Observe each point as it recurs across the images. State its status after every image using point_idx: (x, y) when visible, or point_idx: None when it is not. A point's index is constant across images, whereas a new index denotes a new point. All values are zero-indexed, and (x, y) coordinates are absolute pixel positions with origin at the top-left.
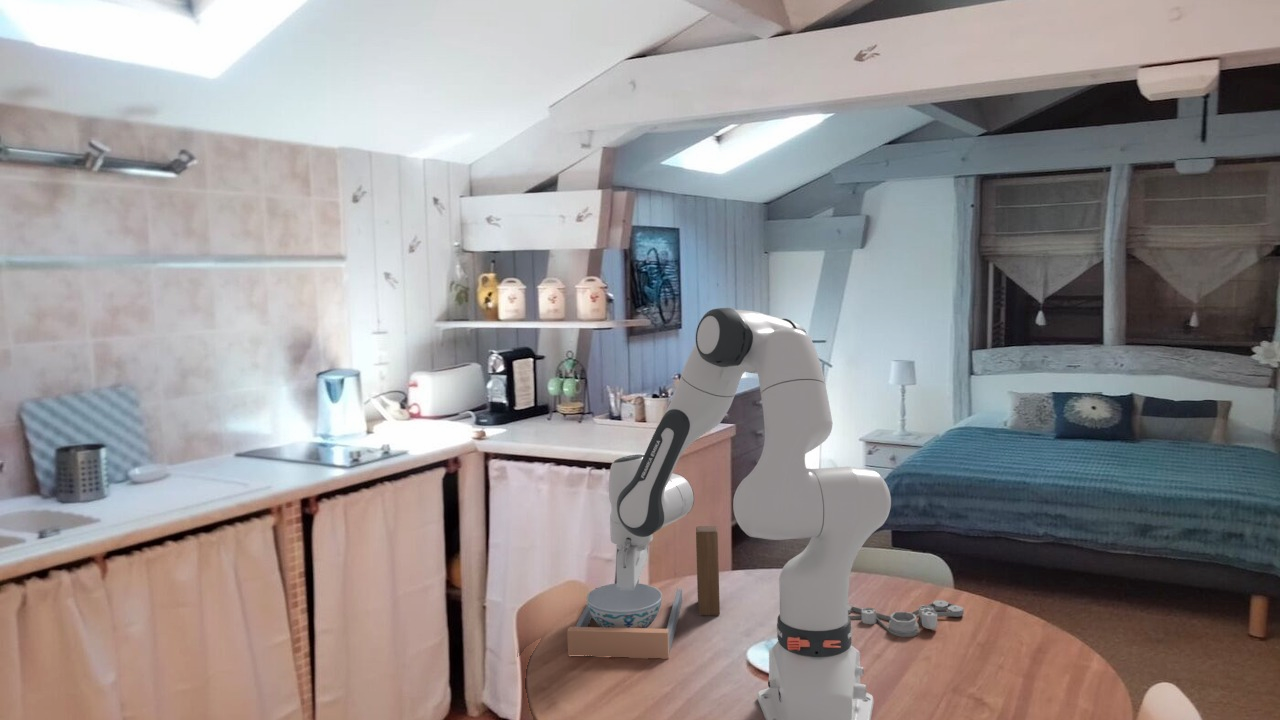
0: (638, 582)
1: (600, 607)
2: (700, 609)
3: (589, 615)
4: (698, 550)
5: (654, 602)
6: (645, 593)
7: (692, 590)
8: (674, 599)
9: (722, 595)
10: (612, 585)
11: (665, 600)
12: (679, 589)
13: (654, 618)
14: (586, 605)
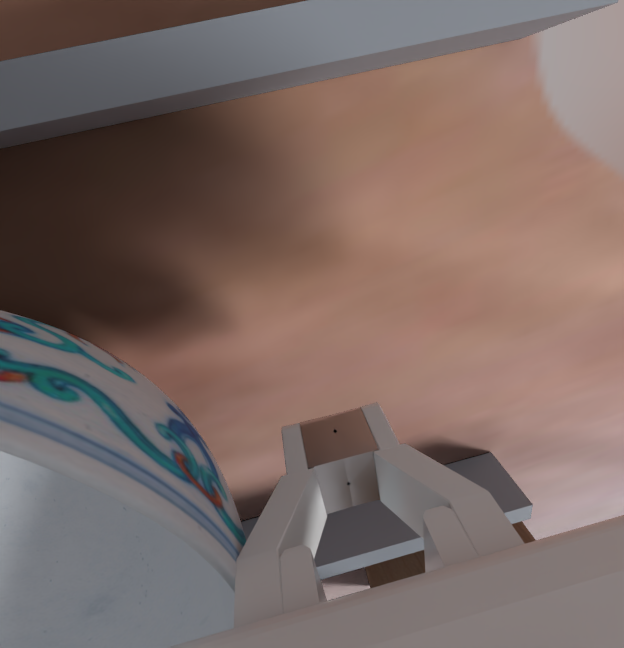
0: (410, 527)
1: None
2: (369, 580)
3: (37, 132)
4: None
5: (176, 624)
6: (230, 604)
7: (619, 447)
8: (395, 544)
9: (554, 533)
10: (105, 480)
11: (517, 404)
12: (527, 513)
13: (34, 636)
14: (88, 44)
